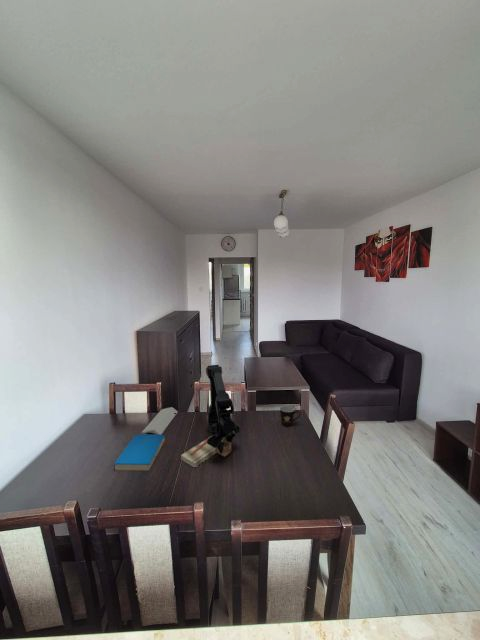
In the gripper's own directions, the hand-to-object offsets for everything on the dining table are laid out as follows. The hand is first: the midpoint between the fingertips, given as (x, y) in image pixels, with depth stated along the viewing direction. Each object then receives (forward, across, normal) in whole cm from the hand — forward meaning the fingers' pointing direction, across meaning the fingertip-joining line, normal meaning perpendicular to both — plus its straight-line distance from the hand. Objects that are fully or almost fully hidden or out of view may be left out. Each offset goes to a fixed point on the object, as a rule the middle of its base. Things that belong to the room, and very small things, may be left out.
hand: (224, 450), depth 140 cm
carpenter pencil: (0, +6, -11) cm, 13 cm away
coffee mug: (+2, -46, +12) cm, 47 cm away
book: (+3, +26, -34) cm, 42 cm away
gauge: (+1, 0, 0) cm, 1 cm away
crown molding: (+3, 0, -54) cm, 54 cm away
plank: (+2, +5, -9) cm, 11 cm away
